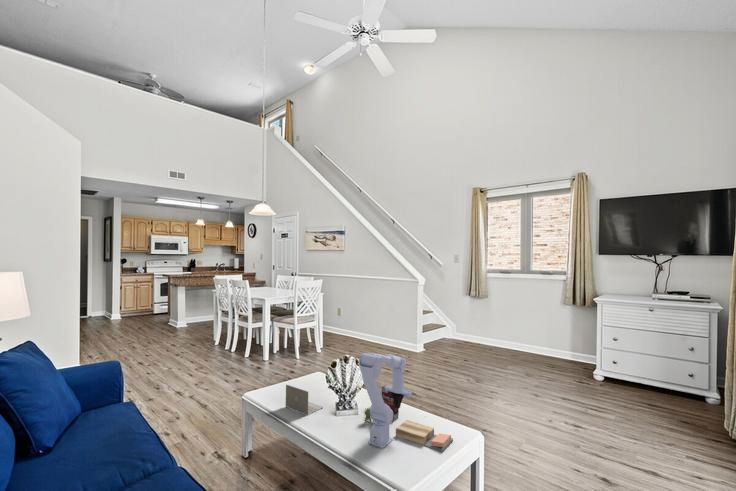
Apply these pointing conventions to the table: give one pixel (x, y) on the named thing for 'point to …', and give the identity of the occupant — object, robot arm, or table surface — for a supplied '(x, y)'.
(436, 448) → the mat
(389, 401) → the supplement box
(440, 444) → the block
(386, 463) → the table surface
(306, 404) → the laptop
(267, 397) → the table surface
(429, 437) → the deck
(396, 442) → the table surface
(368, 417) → the green toy figurine
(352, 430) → the table surface
